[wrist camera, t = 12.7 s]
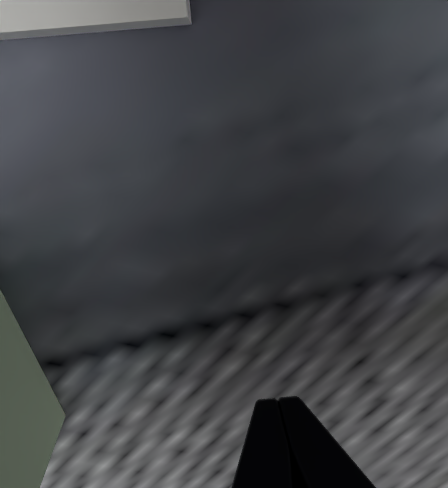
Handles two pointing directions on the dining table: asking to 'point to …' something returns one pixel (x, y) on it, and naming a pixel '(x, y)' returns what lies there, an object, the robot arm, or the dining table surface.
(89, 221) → the dining table surface
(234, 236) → the dining table surface
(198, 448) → the dining table surface
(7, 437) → the plug block
